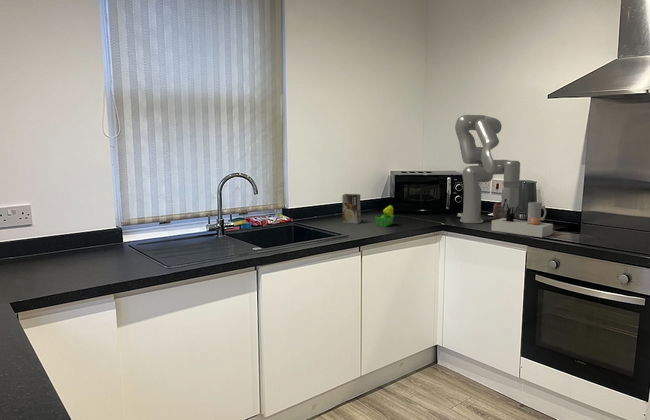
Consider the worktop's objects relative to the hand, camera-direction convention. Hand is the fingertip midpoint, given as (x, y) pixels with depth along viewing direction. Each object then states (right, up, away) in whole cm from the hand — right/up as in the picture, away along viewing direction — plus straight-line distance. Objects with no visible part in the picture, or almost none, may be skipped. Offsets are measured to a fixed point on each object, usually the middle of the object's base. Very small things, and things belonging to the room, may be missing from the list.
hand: (509, 220), depth 252 cm
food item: (+8, 0, +39) cm, 40 cm away
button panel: (+4, -6, -4) cm, 8 cm away
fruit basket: (-61, -3, +18) cm, 64 cm away
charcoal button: (0, -5, +1) cm, 5 cm away
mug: (+21, -3, +16) cm, 27 cm away
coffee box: (-79, -2, +28) cm, 84 cm away
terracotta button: (+9, -3, -9) cm, 13 cm away
